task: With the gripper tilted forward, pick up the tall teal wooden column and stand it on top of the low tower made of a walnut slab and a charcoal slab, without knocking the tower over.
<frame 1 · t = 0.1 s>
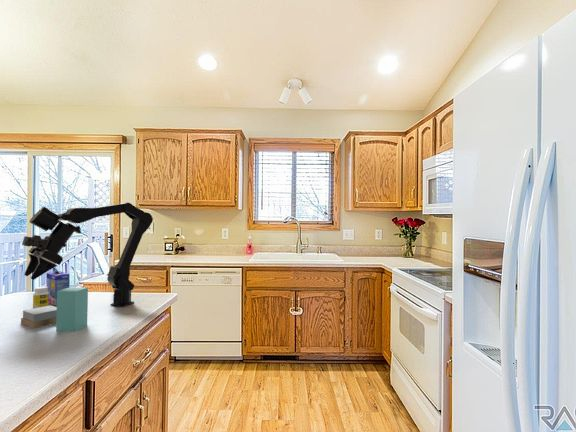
hand: (28, 277, 114), 15 cm above the countertop, tool tilted 35°, fingers open, 9 cm apart
supplement bottle: (40, 310, 128), on the countertop
tower top: (42, 317, 113), point 2 cm above the countertop, touching tower base
tower base: (42, 324, 113), on the countertop, touching tower top
column: (72, 328, 108), on the countertop
ink cartridge box: (57, 303, 138), on the countertop
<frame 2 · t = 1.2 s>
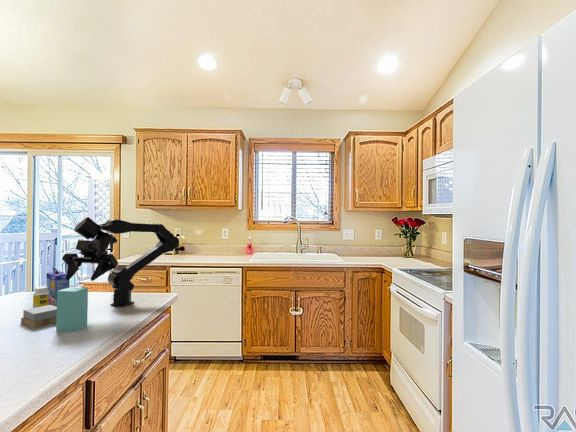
hand: (79, 279, 118), 13 cm above the countertop, tool tilted 45°, fingers open, 9 cm apart
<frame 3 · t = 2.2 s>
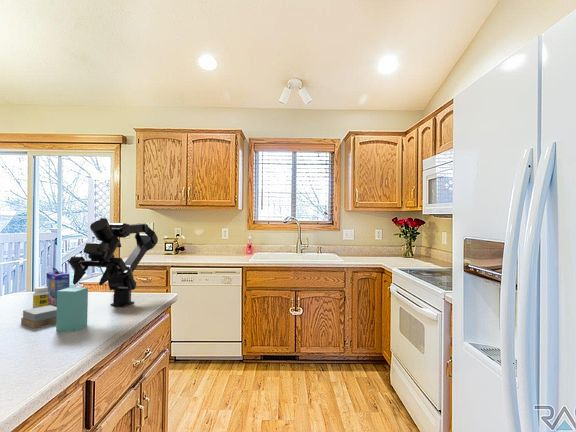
hand: (86, 284, 115), 13 cm above the countertop, tool tilted 45°, fingers open, 9 cm apart
tower top: (42, 316, 113), point 2 cm above the countertop
tower base: (43, 324, 113), on the countertop
everything else where it was.
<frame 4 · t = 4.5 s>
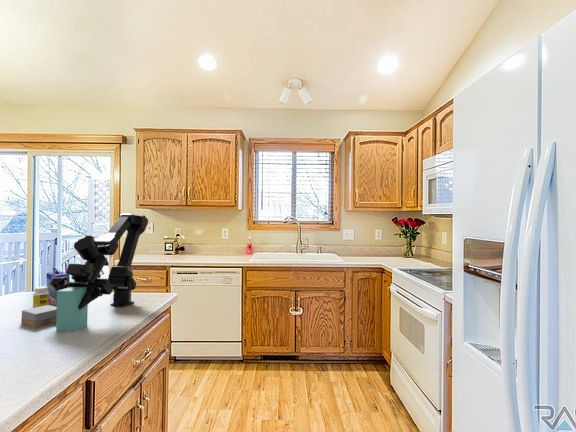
hand: (69, 308, 106), 7 cm above the countertop, tool tilted 45°, fingers closed on column, 6 cm apart
tower top: (41, 316, 112), point 2 cm above the countertop, touching tower base
tower base: (43, 324, 113), on the countertop, touching tower top
column: (72, 327, 108), on the countertop, touching gripper
everything else where it was.
when the fingers open (12 cm above the countertop, at t = 8.1 s): column drops 2 cm, resting on tower top.
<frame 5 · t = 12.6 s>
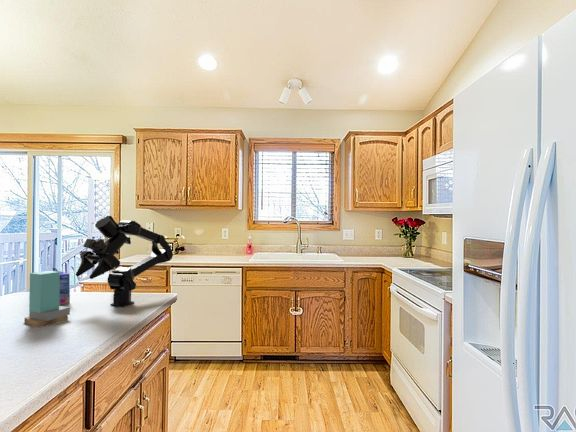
hand: (83, 276, 123), 14 cm above the countertop, tool tilted 45°, fingers open, 9 cm apart
tower top: (49, 316, 114), point 2 cm above the countertop, touching column, tower base
column: (44, 309, 113), point 4 cm above the countertop, touching tower top
everything else where it was.
at the end: column 1.4 cm off-centre on the tower top, point 2.6 cm above the tower top's base; column tilted 1°; tower top 1.1 cm off-centre on the tower base, point 2.5 cm above the tower base's base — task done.
